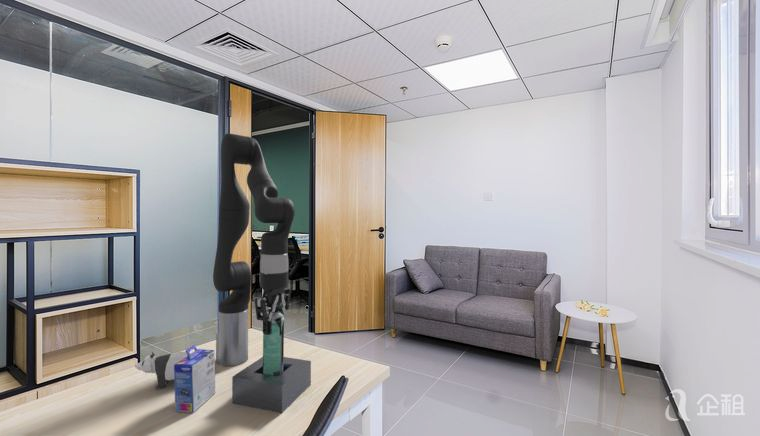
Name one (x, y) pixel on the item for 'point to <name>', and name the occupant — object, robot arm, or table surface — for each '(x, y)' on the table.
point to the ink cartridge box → (194, 379)
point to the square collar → (271, 385)
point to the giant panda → (161, 366)
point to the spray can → (274, 346)
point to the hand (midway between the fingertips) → (273, 330)
